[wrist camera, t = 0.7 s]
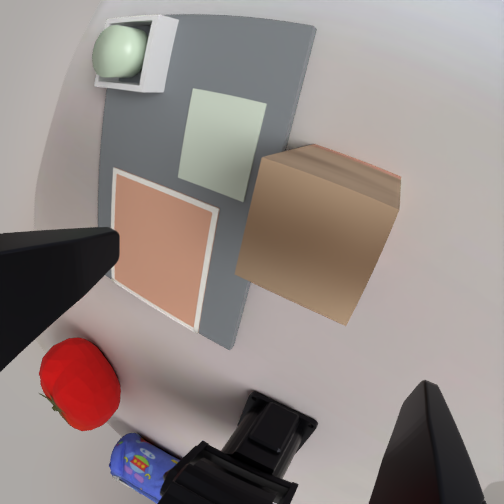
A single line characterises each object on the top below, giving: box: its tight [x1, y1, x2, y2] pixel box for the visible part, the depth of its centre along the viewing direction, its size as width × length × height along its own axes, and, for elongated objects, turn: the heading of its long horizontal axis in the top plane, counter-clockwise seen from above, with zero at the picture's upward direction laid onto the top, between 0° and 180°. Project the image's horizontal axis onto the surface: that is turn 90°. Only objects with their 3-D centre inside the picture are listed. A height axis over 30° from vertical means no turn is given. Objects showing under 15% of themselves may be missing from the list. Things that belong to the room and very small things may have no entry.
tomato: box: [39, 338, 121, 431], centre depth 34 cm, size 11×13×10 cm
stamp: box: [235, 144, 401, 326], centre depth 14 cm, size 5×5×7 cm
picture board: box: [94, 14, 316, 350], centre depth 21 cm, size 23×15×3 cm, turn 166°
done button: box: [92, 25, 148, 78], centre depth 17 cm, size 4×4×2 cm
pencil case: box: [109, 433, 180, 504], centre depth 37 cm, size 22×9×10 cm, turn 88°
